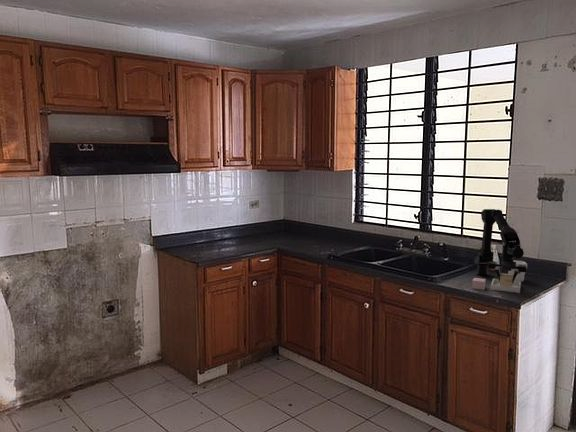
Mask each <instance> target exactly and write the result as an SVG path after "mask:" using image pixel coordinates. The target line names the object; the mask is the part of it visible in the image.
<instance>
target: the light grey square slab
mask: <svg viewBox="0 0 576 432" xmlns="http://www.w3.org/2000/svg"><path fill="white" fill-rule="evenodd" d="M521 286H522V282H518V281H514V282H513V283H512V287H511V286H503V285H500V282H499V279H498V278H492V281H491V283H490V291H491V290H492V291H498V292H500V291H501V292H506V293H507V292H508V293H514V292H515V293H516V294H520V293H521V288H522V287H521Z"/></svg>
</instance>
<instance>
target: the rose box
mask: <svg viewBox="0 0 576 432" xmlns="http://www.w3.org/2000/svg"><path fill="white" fill-rule="evenodd" d="M486 280H487V279H486V278H479V277H473V279H472V281H471V285H472V286H471V288H472V289H476V290H483V291H485V288H486V282H487V281H486Z"/></svg>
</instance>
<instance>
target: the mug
mask: <svg viewBox="0 0 576 432" xmlns="http://www.w3.org/2000/svg"><path fill="white" fill-rule="evenodd" d="M513 262H516V266H519V265H526V266H527V267H528V263H527V262H526V261H523V260H515V259H514V261H513ZM514 271H515V269H512V270H511V271H508V270H507V272H508V273H507V274H511V275H514ZM526 273H527V271H526V272H520V273H518V274H517V276H516V277H515V280H514V281H518V282H521V283H522V282H524V281H525V275H526Z"/></svg>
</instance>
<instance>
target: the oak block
mask: <svg viewBox="0 0 576 432" xmlns="http://www.w3.org/2000/svg"><path fill="white" fill-rule="evenodd" d="M512 280H513V275H511V274H508V273H502V272H500V285H503V286H511V287H512Z"/></svg>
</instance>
